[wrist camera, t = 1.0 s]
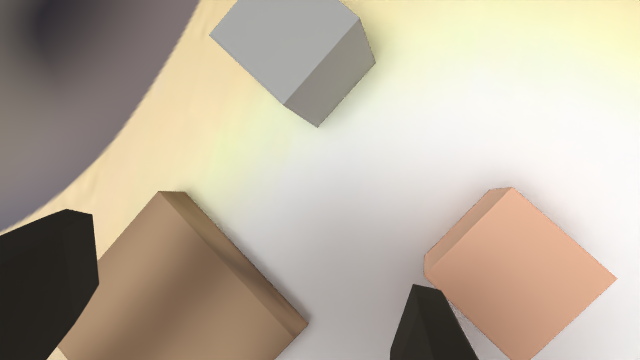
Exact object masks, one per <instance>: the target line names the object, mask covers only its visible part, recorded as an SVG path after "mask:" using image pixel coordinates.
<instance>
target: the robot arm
mask: <svg viewBox="0 0 640 360" xmlns="http://www.w3.org/2000/svg"><path fill="white" fill-rule="evenodd" d="M98 286H99V274H98V265H97V255H96V245H95V236H94V226H93V216H92V214H87V213H83V212H78V211H74V210H69V209H65V210H62V211H59V212H56V213H54V214H51V215H48V216H46V217H43V218H41V219H38V220H36V221H34V222H31V223H29V224H27V225H24V226H22V227H19V228H17V229H15V230H12V231H10V232H8V233H5V234H3V235H1V236H0V360H46V359H47V358H48V357H49V356H50V354H51V353H52V352H53V351H54V349H55V348H56V347H57V346H58V344H59V343H60V342H61V341H62V340H63V338H64V337H65V336H66V335H67V333H68V332H69V331H70V329H71V328H72V327H73V326H74V324H75V323H76V321H77V320H78V318H79V317H80V315H81V314H82V312H83V311H84V309H85V307H86V306H87V304H88V303H89V301H90V299H91V297H92V296H93V294H94V292H95V291H96V289H97V287H98ZM390 360H479V359H478V358H477V356H476V354H475V352H474V350H473V349H472V347H471V345H470V343H469V341H468V340H467V338H466V336H465V334H464V332H463V330H462V328H461V326H460V325H459V323H458V321H457V319H456V317H455V315H454V313H453V311H452V309H451V307H450V305H449V303H448V301H447V299H446V297H445V295H444V294H443V292H442V291H441V290H438V289H434V288H429V287H424V286H420V285H415V284H413V286H412V288H411V291H410V294H409V297H408V300H407V303H406V306H405V309H404V312H403V315H402V318H401V321H400V323H399V326H398V329H397V332H396V335H395V338H394V341H393V344H392V347H391V351H390Z"/></svg>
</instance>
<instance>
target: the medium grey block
mask: <svg viewBox="0 0 640 360" xmlns="http://www.w3.org/2000/svg"><path fill="white" fill-rule="evenodd" d="M209 36H210V37H211V38H212V39H214V40H215V41H216V42H217V43H218V44H219V45H220V46H221V47H222V48H223V49H224V50H225V51H226V52H227V53H228V54H229V55H231V56H232V57H233V58H234V59H235V60H236V61H237V62H238V63H239V64H240V65H241V66H242V67H243V68H244V69H245V70H246V71H248V72H249V73H250V74H251V75H252V76H253V77H254V78H255V79H256V80H257V81H258V82H259V83H260V84H261V85H262V86H263V87H265V88H266V89H267V90H268V91H269V92H270V93H271V94H272V95H273V96H274V97H275V98H276V99H277V100H278V101H279V102H280V103H281V104H283V105H284V106H285V107H287V108H288V109H290V110H291V111H293V112H294V113H296V114H297V115H299V116H300V117H302V118H303V119H305V120H306V121H308V122H309V123H311V124H312V125H314V126H315V127H318V126H319V125H320V124H321V123H322V122H323V121H324V119H325V118H326V117H327V116H328V115H329V114H330V113H331V112H332V111H333V109H334V108H335V107H336V106H337V105H338V104H339V103H340V102H341V101H342V99H343V98H344V97H345V96H346V95H347V94H348V93H349V92H350V91H351V89H352V88H353V87H354V86H355V85H356V84H357V83H358V82H359V81H360V79H361V78H362V77H363V76H364V75H365V74H366V73H367V72H368V71H369V69H370V68H371V67H372V66H373V65H374V64H375V60H374V57H373V54H372V51H371V49H370V46H369V43H368V40H367V37H366V35H365V32H364V29H363V26H362V23H361V21H360V18H359V17H358V16H357V15H356V14H354V13H353V12H352V11H351V10H350V9H348V8H347V7H346V6H345V5H344V4H343V3H341V2H340V1H339V0H238V1H237V2H236V3H235V4H234V6H233V7H232V8H231V9H230V10H229V12H228V13H227V14H226V15H225V16H224V18H223V19H222V20H221V21H220V22H219V24H218V25H217V26H216V27H215V28H214V30H213V31H212V32H211V33H210V34H209Z"/></svg>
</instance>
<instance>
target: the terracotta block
mask: <svg viewBox="0 0 640 360" xmlns="http://www.w3.org/2000/svg"><path fill="white" fill-rule="evenodd" d="M424 277H425V278H426V279H427V280H428V281H429V282H431V283H432V284H433V285H434V286H435V287H436V288H437V289H438V290H441V291H442V292H443V294H444V295H445V297H446V298H447V299H448V300H449V301H450V302H451V303H452V304H453V305H454V306H455V307H456V308H457V309H458V310H460V311H461V312H462V313H463V314H464V315H465V316H466V317H467V318H468V319H469V320H470V321H471V322H472V323H473V324H474V325H475V326H476V327H477V328H478V329H479V330H480V331H481V332H482V333H483V334H484V335H485V336H486V337H487V338H489V339H490V340H491V341H492V342H493V343H494V344H495V345H496V346H497V347H498V348H499V349H500V350H501V351H502V352H503V353H504V354H505V355H506V356H507V357H508V358H509V359H510V360H531V359H532V358H533V357H534V356H535V355H536V354H537V353H538V352H539V351H540V350H541V349H542V348H544V347H545V346H546V345H547V344H548V343H549V342H550V341H551V340H552V339H553V338H554V337H555V336H556V335H558V334H559V333H560V332H561V331H562V330H563V329H564V328H565V327H566V326H567V325H568V324H569V323H570V322H572V321H573V320H574V319H575V318H576V317H577V316H578V315H579V314H580V313H581V312H582V311H583V310H584V309H586V308H587V307H588V306H589V305H590V304H591V303H592V302H593V301H594V300H595V299H596V298H597V297H598V296H600V295H601V294H602V293H603V292H604V291H605V290H606V289H607V288H608V287H609V286H610V285H611V284H612V283H614V282H615V281H616V280H617V278H616V277H615V276H614V275H613V274H612V273H611V272H609V271H608V270H607V269H606V268H605V267H604V266H602V265H601V264H600V263H599V262H598V261H597V260H596V259H594V258H593V257H592V256H591V255H590V254H589V253H588V252H586V251H585V250H584V249H583V248H582V247H581V246H580V245H578V244H577V243H576V242H575V241H574V240H573V239H572V238H570V237H569V236H568V235H567V234H566V233H565V232H564V231H562V230H561V229H560V228H559V227H558V226H557V225H555V224H554V223H553V222H552V221H551V220H550V219H549V218H547V217H546V216H545V215H544V214H543V213H542V212H541V211H539V210H538V209H537V208H536V207H535V206H534V205H533V204H531V203H530V202H529V201H528V200H527V199H526V198H525V197H523V196H522V195H521V194H520V193H519V192H518V191H517V190H515V189H514V188H513V187H508V188H500V189H492V190H489V191H488V192H487V193H486V194H485V195H484V196H483V197H482V198H481V199H480V200H479V201H478V202H477V203H476V204H475V205H474V206H473V207H472V208H471V209H470V210H469V211H468V212H467V213H466V214H465V215H464V216H463V217H462V218H461V219H460V220H459V221H458V222H457V223H456V224H455V225H454V226H453V227H452V228H451V229H450V230H449V231H448V232H447V233H446V234H445V235H444V236H443V237H442V238H441V239H440V240H439V241H438V242H437V243H436V244H435V245H434V247H433V248H432V249H431V250H430V251H429V252H428V253H427V254H426V255H425V256H424Z"/></svg>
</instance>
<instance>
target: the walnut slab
mask: <svg viewBox="0 0 640 360" xmlns="http://www.w3.org/2000/svg"><path fill="white" fill-rule="evenodd" d="M97 265H98V274H99V286H98V287H97V289H96V291H95V292H94V294H93V296H92V297H91V299H90V301H89V303H88V304H87V306H86V307H85V309H84V311H83V312H82V314H81V315H80V317H79V318H78V320H77V321H76V323H75V324H74V326H73V327H72V328H71V329H70V331H69V332H68V333H67V335H66V336H65V337H64V338H63V340H62V341H61V342H60V343H59V344H58V346H57V347H58V348H59V349H60V350H61V352H62V353H63V354H64V355H65V357H66V358H67V359H68V360H274V359H275V358H276V357H277V356H278V355H279V354H280V353H281V352H282V351H283V350H284V349H285V348H286V347H287V346H288V345H289V344H290V343H291V342H292V341H293V340H294V339H295V338H296V337H297V335H298V334H299V333H300V332H301V331H302V330H303V329H304V328H305V327H306V326H307V325H308V323H307V322H306V321H305V320H304V318H303V317H302V316H301V315H300V314H299V313H298V312H297V311H296V310H295V309H294V308H293V307H292V306H291V305H290V304H289V302H288V301H287V300H286V299H285V298H284V297H283V296H282V295H281V294H280V293H279V292H278V291H277V290H276V289H275V288H274V287H273V285H272V284H271V283H270V282H269V281H268V280H267V279H266V278H265V277H264V276H263V275H262V274H261V273H260V272H259V271H258V270H257V268H256V267H255V266H254V265H253V264H252V263H251V262H250V261H249V260H248V259H247V258H246V257H245V256H244V255H243V254H242V253H241V251H240V250H239V249H238V248H237V247H236V246H235V245H234V244H233V243H232V242H231V241H230V240H229V239H228V238H227V237H226V236H225V234H224V233H223V232H222V231H221V230H220V229H219V228H218V227H217V226H216V225H215V224H214V223H213V222H212V221H211V220H210V219H209V217H208V216H207V215H206V214H205V213H204V212H203V211H202V210H201V209H200V208H199V207H198V206H197V205H196V204H195V203H194V202H193V200H192V199H191V198H190V197H189V196H188V195H187V194H186V193H185V192H171V191H158V192H157V193H156V194H155V196H154V197H153V198H152V199H151V200H150V201H149V203H148V204H147V205H146V206H145V207H144V208H143V209H142V211H141V212H140V213H139V214H138V215H137V216H136V218H135V219H134V220H133V221H132V222H131V223H130V225H129V226H128V227H127V228H126V229H125V230H124V231H123V233H122V234H121V235H120V236H119V237H118V238H117V240H116V241H115V242H114V243H113V244H112V245H111V247H110V248H109V249H108V250H107V251H106V252H105V253H104V255H103V256H102V257H101V258H100V259H99V260H98V262H97Z"/></svg>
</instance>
